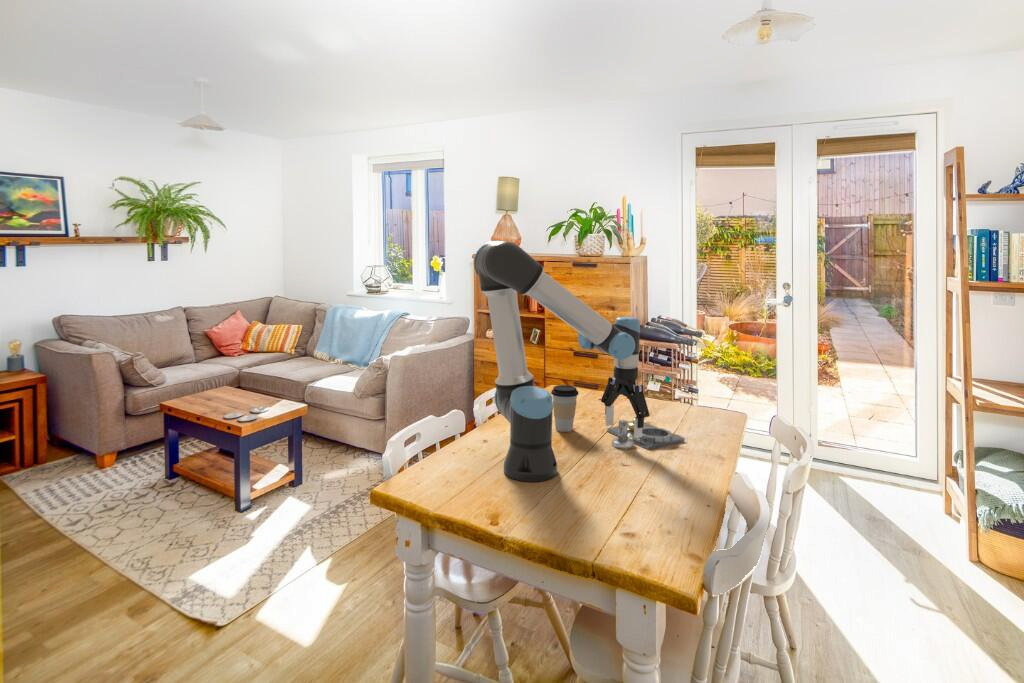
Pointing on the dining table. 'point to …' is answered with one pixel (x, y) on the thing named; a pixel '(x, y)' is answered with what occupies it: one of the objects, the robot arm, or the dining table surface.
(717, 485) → the dining table surface
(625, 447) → the silver round-based piece
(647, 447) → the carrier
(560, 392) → the coffee cup
